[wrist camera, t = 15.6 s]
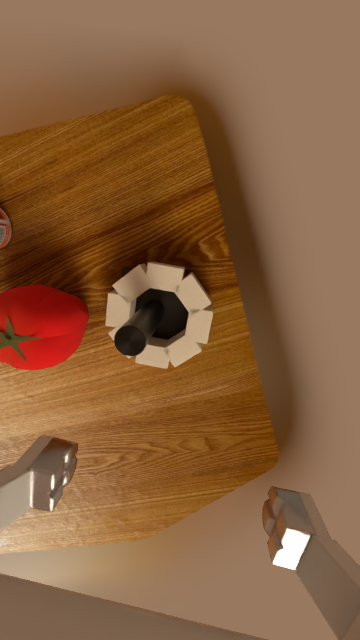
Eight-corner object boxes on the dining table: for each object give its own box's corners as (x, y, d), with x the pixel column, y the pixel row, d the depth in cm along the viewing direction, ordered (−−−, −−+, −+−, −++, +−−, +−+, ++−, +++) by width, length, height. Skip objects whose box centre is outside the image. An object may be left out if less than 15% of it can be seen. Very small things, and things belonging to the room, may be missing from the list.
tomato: (113, 332, 37) (82, 362, 27) (45, 363, 39) (-7, 400, 29) (75, 263, 34) (25, 268, 24) (5, 299, 37) (-66, 317, 27)
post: (196, 280, 34) (194, 298, 21) (183, 347, 36) (174, 399, 24) (125, 267, 34) (80, 276, 21) (117, 334, 37) (73, 378, 24)
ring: (219, 273, 32) (221, 275, 29) (200, 365, 36) (200, 375, 33) (118, 255, 32) (110, 255, 29) (110, 348, 36) (102, 356, 33)
